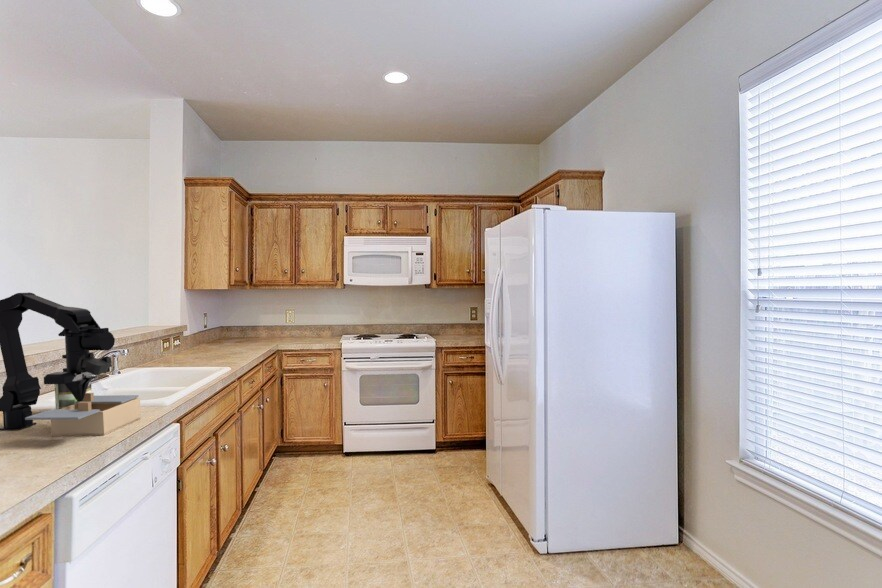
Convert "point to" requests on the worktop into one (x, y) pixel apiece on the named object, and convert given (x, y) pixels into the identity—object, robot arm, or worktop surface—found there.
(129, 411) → the carton
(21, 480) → the worktop surface
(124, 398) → the lid panel
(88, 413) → the lid panel
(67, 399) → the coffee can
